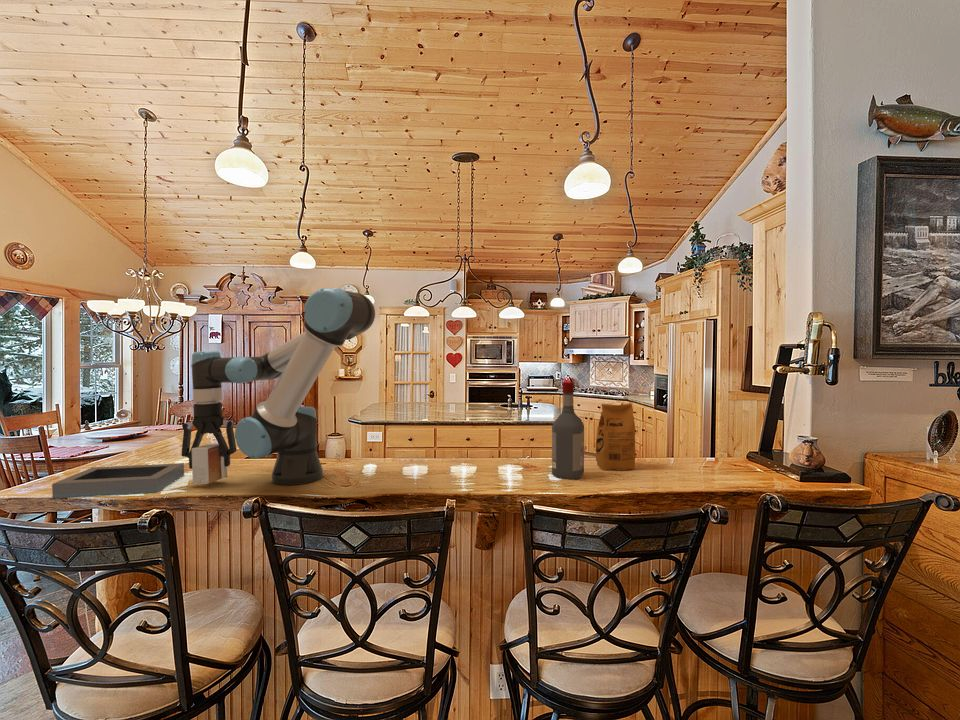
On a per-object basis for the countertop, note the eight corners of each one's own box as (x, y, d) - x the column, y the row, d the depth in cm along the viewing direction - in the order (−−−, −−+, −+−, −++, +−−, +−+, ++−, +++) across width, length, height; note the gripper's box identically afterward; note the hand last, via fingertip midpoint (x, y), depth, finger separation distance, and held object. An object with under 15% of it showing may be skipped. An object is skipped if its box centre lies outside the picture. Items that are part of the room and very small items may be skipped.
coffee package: (593, 463, 166) (593, 401, 165) (628, 463, 166) (628, 401, 165) (600, 471, 156) (600, 405, 155) (638, 471, 156) (638, 405, 155)
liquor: (585, 473, 153) (585, 382, 152) (578, 480, 145) (579, 384, 144) (557, 470, 157) (558, 381, 156) (550, 477, 148) (550, 383, 147)
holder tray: (184, 475, 152) (183, 463, 152) (157, 492, 134) (156, 478, 134) (93, 479, 147) (92, 467, 147) (52, 498, 129) (52, 483, 129)
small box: (208, 484, 137) (207, 448, 137) (192, 483, 138) (190, 448, 138) (228, 476, 145) (227, 443, 144) (212, 476, 146) (211, 442, 146)
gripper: (247, 399, 146) (249, 472, 147) (176, 402, 143) (179, 477, 143) (239, 402, 139) (242, 479, 140) (165, 405, 135) (167, 484, 136)
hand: (210, 478), depth 141 cm, fingers closed on small box, 7 cm apart
